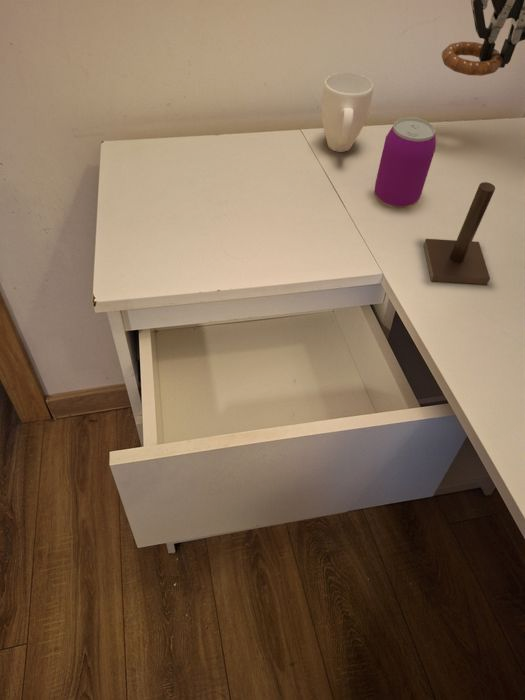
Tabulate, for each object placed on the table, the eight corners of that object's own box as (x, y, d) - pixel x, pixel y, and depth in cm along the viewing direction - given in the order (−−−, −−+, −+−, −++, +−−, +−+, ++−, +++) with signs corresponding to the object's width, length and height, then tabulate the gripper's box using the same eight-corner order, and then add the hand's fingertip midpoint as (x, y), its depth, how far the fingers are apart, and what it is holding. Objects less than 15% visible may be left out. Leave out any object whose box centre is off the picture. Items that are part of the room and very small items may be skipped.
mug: (317, 132, 98) (324, 70, 89) (360, 135, 98) (372, 72, 89) (316, 168, 91) (324, 103, 82) (363, 171, 90) (376, 107, 81)
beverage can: (378, 178, 89) (394, 110, 80) (422, 189, 87) (444, 121, 78) (368, 203, 84) (383, 134, 75) (414, 215, 83) (436, 146, 73)
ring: (492, 53, 89) (496, 41, 88) (504, 79, 83) (509, 66, 82) (436, 51, 90) (440, 38, 88) (445, 76, 84) (449, 63, 82)
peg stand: (476, 247, 78) (511, 170, 68) (487, 284, 73) (527, 207, 63) (423, 244, 78) (450, 167, 68) (431, 281, 74) (461, 203, 63)
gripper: (493, -58, 71) (454, 73, 84) (595, -54, 70) (539, 77, 84) (482, -73, 75) (447, 54, 89) (578, -69, 75) (527, 57, 89)
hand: (492, 64), depth 86 cm, fingers closed on ring, 2 cm apart
